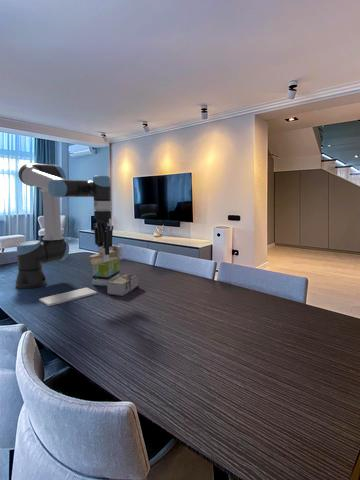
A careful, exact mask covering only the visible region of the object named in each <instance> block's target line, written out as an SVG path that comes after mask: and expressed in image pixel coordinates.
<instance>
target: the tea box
mask: <svg viewBox="0 0 360 480" xmlns="http://www.w3.org/2000/svg"><path fill="white" fill-rule="evenodd" d="M120 260H121V259H115V260H111V261H108V262H105V263H101V264H98V265H94V266H93V265H91V266H92V285H95V286H107V282H109V281H111V280H114V279H116V278H118V277H120V276H121V274H120V272H121V271H120V268H121V267H120V264H121V263H120V262H121V261H120Z"/></svg>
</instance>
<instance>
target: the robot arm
mask: <svg viewBox="0 0 360 480" xmlns="http://www.w3.org/2000/svg"><path fill="white" fill-rule="evenodd" d="M18 179H19V180H20V182H22V183H23V184H25V185H26V186H29V187H37V188H38V190H39V191H40V192H41V193H42V208H43V212H42V213H43V226H44V236H43V237H42V238H41V239H42V240H41V241H42V242H41V241H40V240H38V239H37V240H29V241H24V242H21V243H19V244H18V245H17V246H16V257H17V259H16V260H17V270H18V272H17V275H16V280H15V287H16V288H18V289H25V290H26V289H34V288H35V289H36V288H39V287H43V286H45V285H47V277H46V275H45V273H44V270H43V264H49V263H54V262H58V263H59V262H60V261H64V260H66V259H67V257H69V253H70V244H69V242H68V241H67V240H65V237H64V236H63V235H62V223H61V206H60V205H61V204H60V198H70V197H71V198H93V210H94V212H93V216H94V217H93V218H94V220H96V223H93V224H92V226H93V230H94V232H93V233H94V243H95V244H94V245H97V247H98V254H99V253H103V262H108V261H109V251H110V247H112V245H113V231H114V225H111V223H110V219H112V211H111V210H112V200H111V199H112V195H111V191H112V190H111V187H112V184H111V178H110V176H108V175H94V176H93V177H92V180H83V179H81V180H80V179H67V178H66V173H65V171H64V169H63V168H62V167H61V166H59V165H58V164H57V165H56V164H49V163H48V164H47V163H34V162H33V163H32V162H31V163H26V164H24V165H22V166H21V167H20V168H19V169H18Z"/></svg>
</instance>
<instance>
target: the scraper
mask: <svg viewBox="0 0 360 480" xmlns="http://www.w3.org/2000/svg"><path fill="white" fill-rule="evenodd" d="M123 258H124V257H123V249H122V246H121V245H116V244H112V247H109V261H111V260H115V259H120V260H123ZM88 261H89V265H90V266H92V265H93V266H94V265H98V264H101V263H105V262H103V253H99V252H98V253H95V254H91V255H89V256H88Z"/></svg>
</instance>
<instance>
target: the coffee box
mask: <svg viewBox="0 0 360 480" xmlns="http://www.w3.org/2000/svg"><path fill="white" fill-rule="evenodd" d="M138 288H140V275H135V274H123V275H120V277H118V278H116V279H114V280H111V281H109V282H107V289H106V290H107V295H113V296H121V297H123V296H125V295H127V294H130V292H132V291H135V290H137V289H138Z"/></svg>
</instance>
